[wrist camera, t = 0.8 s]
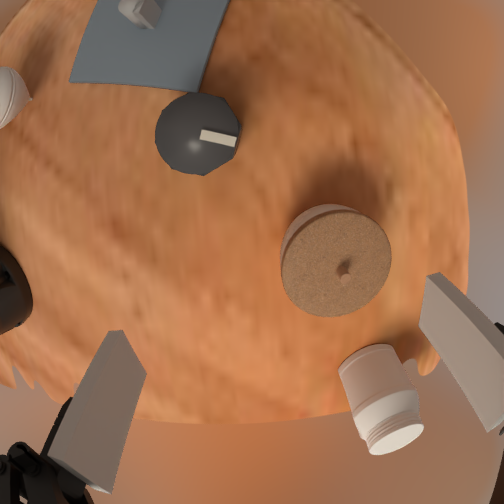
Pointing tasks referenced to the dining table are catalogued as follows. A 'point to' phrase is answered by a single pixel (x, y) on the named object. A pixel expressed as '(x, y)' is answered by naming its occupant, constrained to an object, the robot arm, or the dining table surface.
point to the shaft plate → (149, 43)
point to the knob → (197, 133)
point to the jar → (381, 398)
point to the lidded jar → (333, 260)
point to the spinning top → (11, 95)
